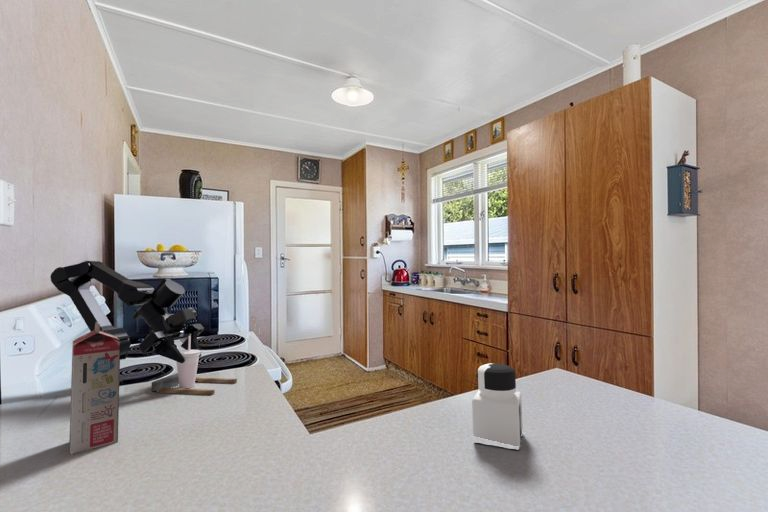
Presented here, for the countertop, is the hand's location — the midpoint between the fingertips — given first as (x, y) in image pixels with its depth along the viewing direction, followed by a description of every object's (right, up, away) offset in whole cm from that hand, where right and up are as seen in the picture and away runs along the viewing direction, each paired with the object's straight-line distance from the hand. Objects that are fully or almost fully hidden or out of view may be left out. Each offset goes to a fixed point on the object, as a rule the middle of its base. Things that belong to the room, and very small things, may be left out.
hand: (192, 359), depth 100 cm
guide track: (+1, -8, -1) cm, 8 cm away
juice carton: (0, -6, -33) cm, 34 cm away
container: (+75, -4, -35) cm, 83 cm away
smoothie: (-1, -8, 0) cm, 8 cm away
